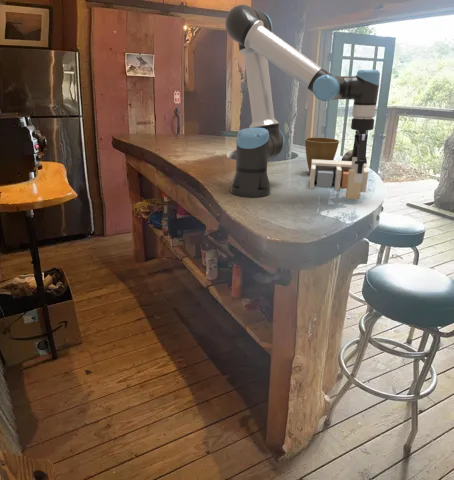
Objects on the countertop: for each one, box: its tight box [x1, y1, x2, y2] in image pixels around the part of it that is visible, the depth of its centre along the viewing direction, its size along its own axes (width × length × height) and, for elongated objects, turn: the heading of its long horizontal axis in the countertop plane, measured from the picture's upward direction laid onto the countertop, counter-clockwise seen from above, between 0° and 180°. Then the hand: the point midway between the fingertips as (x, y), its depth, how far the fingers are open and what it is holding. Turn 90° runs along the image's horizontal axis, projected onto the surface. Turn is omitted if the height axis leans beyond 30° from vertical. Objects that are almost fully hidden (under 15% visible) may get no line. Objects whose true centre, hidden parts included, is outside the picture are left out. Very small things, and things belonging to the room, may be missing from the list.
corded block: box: [340, 169, 361, 200], centre depth 156 cm, size 6×21×10 cm, turn 169°
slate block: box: [316, 170, 333, 188], centre depth 165 cm, size 6×6×6 cm
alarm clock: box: [340, 149, 368, 165], centre depth 178 cm, size 11×5×16 cm, turn 104°
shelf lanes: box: [309, 159, 369, 193], centre depth 165 cm, size 22×16×9 cm
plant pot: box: [304, 136, 340, 174], centre depth 182 cm, size 15×15×16 cm
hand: (355, 178), depth 147 cm, fingers open, 13 cm apart
